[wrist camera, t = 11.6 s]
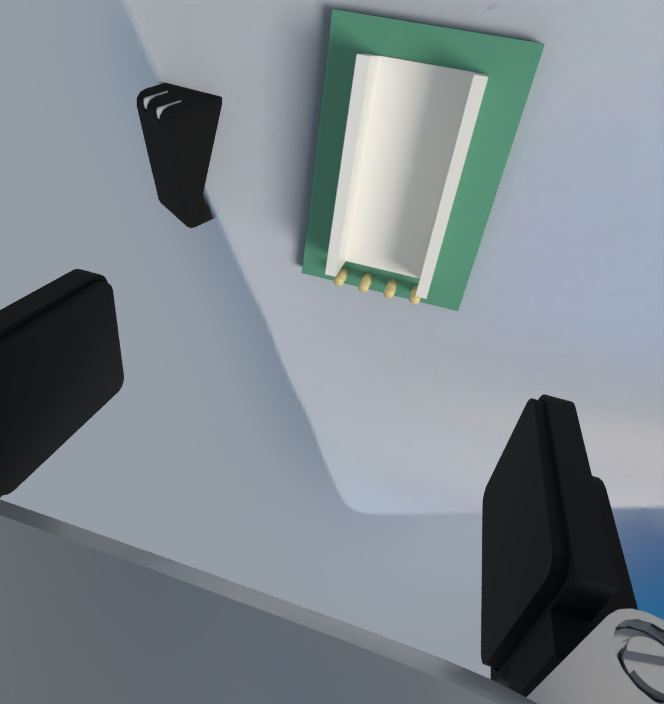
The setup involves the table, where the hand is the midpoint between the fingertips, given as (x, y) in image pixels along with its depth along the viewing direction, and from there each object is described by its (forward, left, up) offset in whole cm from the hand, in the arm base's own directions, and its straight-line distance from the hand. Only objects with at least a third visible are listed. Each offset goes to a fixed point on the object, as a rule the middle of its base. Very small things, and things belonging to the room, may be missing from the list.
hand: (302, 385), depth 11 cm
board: (+2, -1, -29) cm, 29 cm away
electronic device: (+2, -15, -36) cm, 39 cm away
